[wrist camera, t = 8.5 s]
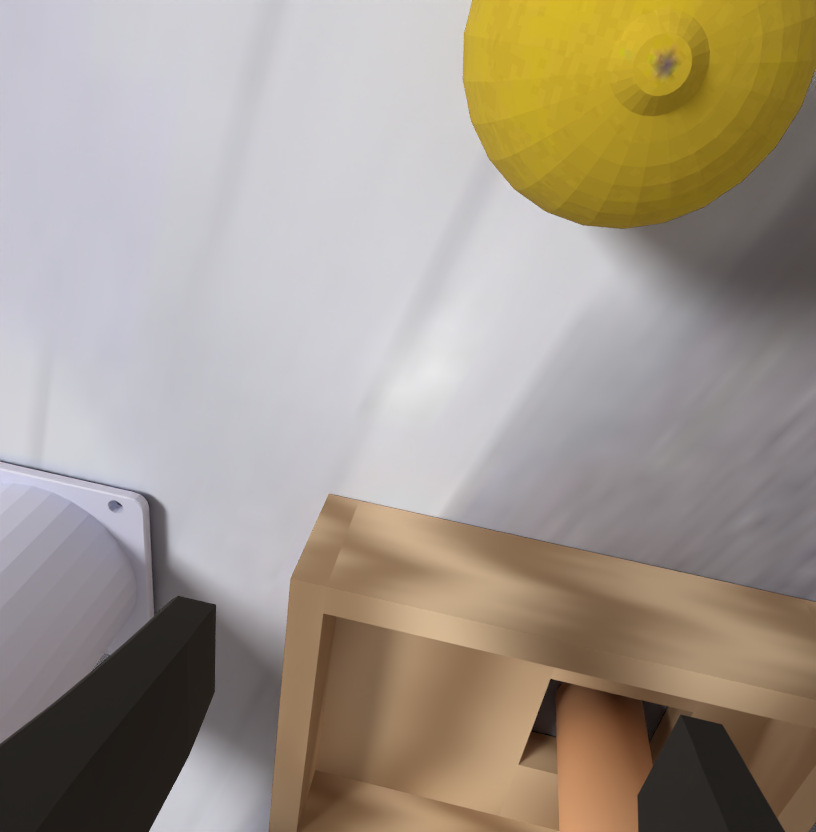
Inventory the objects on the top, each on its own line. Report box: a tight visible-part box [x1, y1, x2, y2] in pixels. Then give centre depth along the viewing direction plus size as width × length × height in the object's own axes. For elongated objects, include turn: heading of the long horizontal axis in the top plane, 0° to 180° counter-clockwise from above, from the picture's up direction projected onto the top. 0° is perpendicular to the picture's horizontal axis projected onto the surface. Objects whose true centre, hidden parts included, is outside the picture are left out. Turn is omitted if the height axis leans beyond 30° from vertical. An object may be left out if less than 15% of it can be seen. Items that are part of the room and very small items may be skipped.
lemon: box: [463, 0, 816, 229], centre depth 12 cm, size 6×6×8 cm
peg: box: [555, 682, 653, 832], centre depth 21 cm, size 3×3×8 cm
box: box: [269, 494, 816, 832], centre depth 23 cm, size 16×13×4 cm
